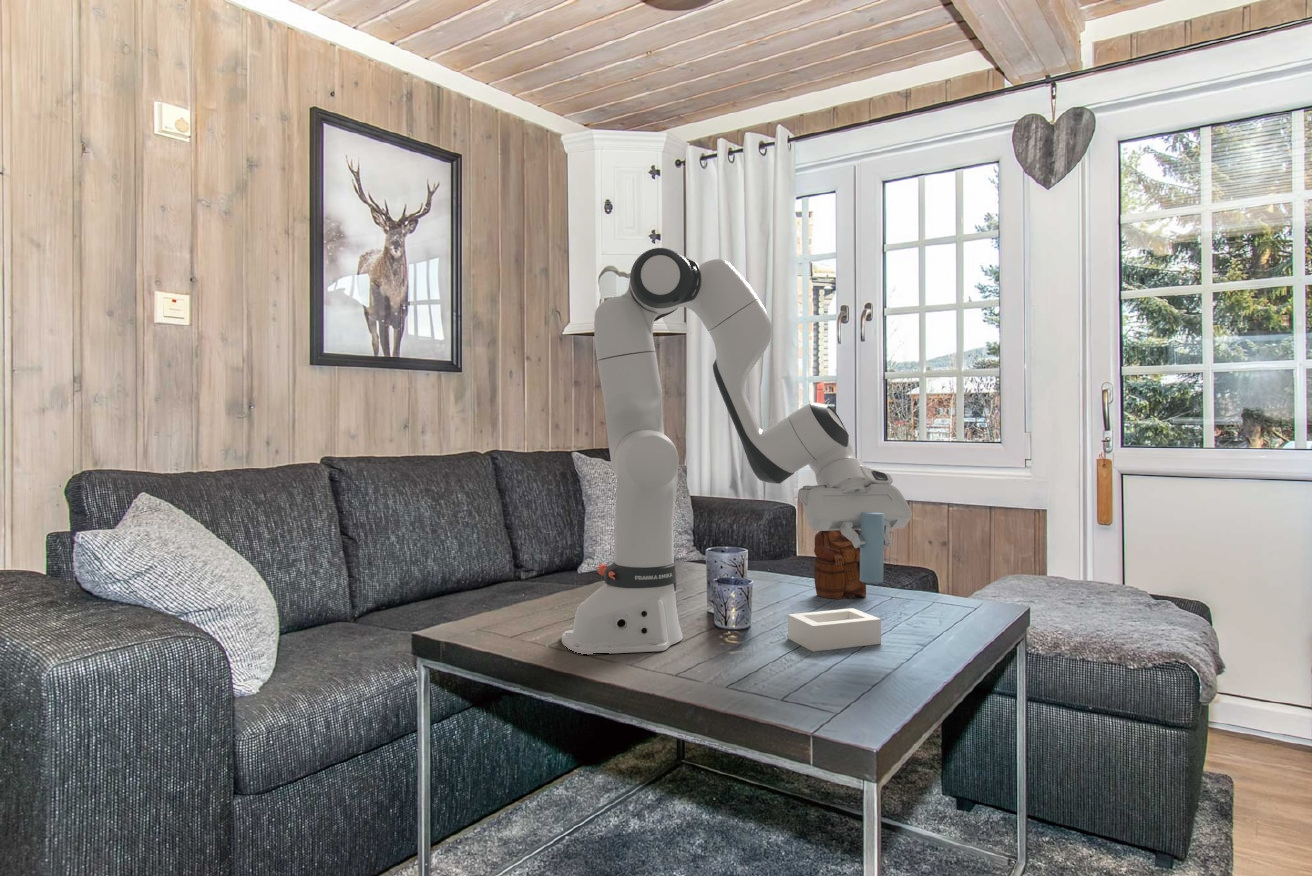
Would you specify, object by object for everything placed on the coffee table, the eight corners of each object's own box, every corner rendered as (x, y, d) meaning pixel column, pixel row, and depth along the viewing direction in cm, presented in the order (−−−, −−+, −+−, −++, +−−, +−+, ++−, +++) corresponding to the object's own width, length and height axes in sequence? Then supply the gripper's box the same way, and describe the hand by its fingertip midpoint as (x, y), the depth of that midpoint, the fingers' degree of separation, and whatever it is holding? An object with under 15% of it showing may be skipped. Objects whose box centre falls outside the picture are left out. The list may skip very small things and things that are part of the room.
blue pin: (868, 583, 136) (869, 514, 136) (855, 579, 140) (856, 512, 140) (887, 582, 137) (889, 514, 137) (874, 578, 141) (875, 511, 141)
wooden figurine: (821, 600, 178) (821, 520, 177) (812, 594, 184) (812, 517, 184) (871, 598, 179) (871, 519, 179) (860, 592, 186) (860, 516, 185)
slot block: (813, 651, 138) (813, 625, 138) (788, 638, 146) (788, 614, 146) (881, 643, 142) (880, 618, 142) (852, 631, 151) (852, 608, 151)
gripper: (801, 474, 142) (828, 536, 133) (897, 474, 148) (930, 532, 139) (789, 497, 146) (814, 558, 137) (883, 495, 153) (913, 553, 143)
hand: (873, 545), depth 138 cm, fingers closed on blue pin, 4 cm apart
